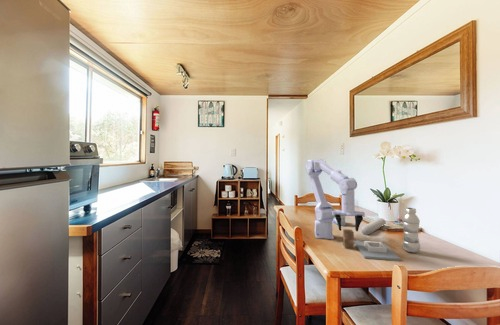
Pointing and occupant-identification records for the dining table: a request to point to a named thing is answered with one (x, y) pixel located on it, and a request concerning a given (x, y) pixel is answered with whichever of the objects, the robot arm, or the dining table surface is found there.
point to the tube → (373, 226)
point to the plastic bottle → (411, 231)
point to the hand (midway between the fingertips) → (348, 230)
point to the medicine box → (341, 219)
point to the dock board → (376, 250)
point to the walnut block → (348, 238)
